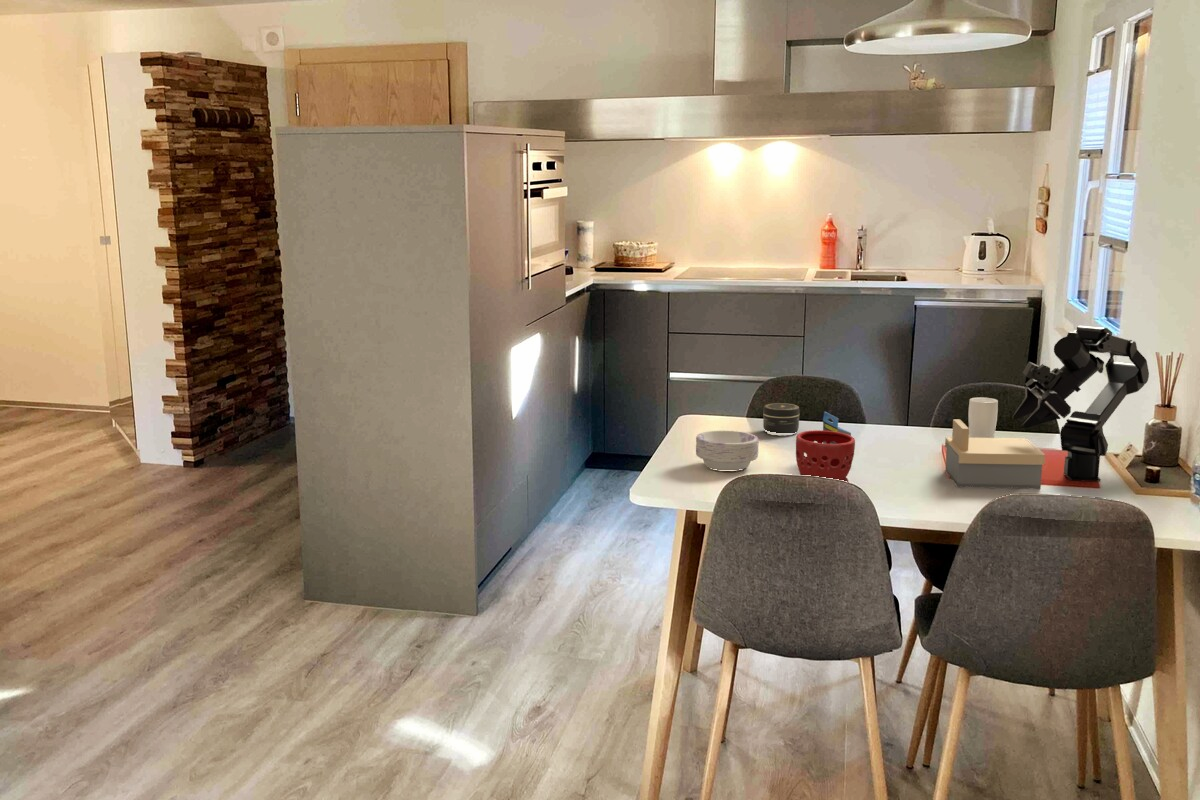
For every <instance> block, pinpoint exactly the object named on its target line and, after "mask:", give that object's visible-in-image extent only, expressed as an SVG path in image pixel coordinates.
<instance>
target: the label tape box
mask: <svg viewBox="0 0 1200 800" xmlns="http://www.w3.org/2000/svg"><path fill="white" fill-rule="evenodd" d="M839 419H840V418H838V417H837V416H835V415H832V414H830V413H829V412H827V411H823V419H822V426H823V427H822V431H834V432H840V433H844V434H847V435H850V436H852V433H851V432H850V431H848V430H846V429H844V428H841V427H839ZM830 420H831V421H830ZM823 443H824V444H827V443H826V442H825V441H824V442H823ZM830 444H837V443H836V442H831V443H830ZM845 460H846V457H845Z"/></svg>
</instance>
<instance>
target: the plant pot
mask: <svg viewBox="0 0 1200 800" xmlns="http://www.w3.org/2000/svg"><path fill="white" fill-rule="evenodd" d="M824 441H825V442H826V443H827V444H824V443H823V442H824ZM831 442H836V443H837V444H830V443H831ZM855 447H856V440H855V437H854V436H852V435H851V436H850V435H847V434H844V433H840V432H834V431H823V429H822V430H818V429H817V430H814V429H813V430H804V431H802V432H799V433H797V435H796V438H795V458H796V466H797V468H798V471H799V474H801V475H811V476H819V477H826V478H833V479H839V480H844V481H847V482H848V483H849V481H850V480H849V479H848V478H847V477H848V475H849V472H850V471H851V468H852V464H853V460H854V456H855ZM805 455H806V456H805ZM845 457H846V460H845Z"/></svg>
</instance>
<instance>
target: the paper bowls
mask: <svg viewBox="0 0 1200 800" xmlns="http://www.w3.org/2000/svg"><path fill="white" fill-rule="evenodd" d="M759 440H760V439H759V437H758V436H757V435H755V434H752V433H750V432H745V431H738V430H736V431H735V430H726V429H724V430H723V429H721V430H707V431H702V432H700V433H699V434H697V435H696V437H695V443H696V444H695V455H696V456H697V457H698V458H699V459H702V461H703V463H704V464H705V466H706V467H707V468H708V467H709V468H712V469H717V470H739V469H744V468H746V469H747V468H748V467H749V465H750V464H751V462H753V461H756V460H757V459H758V457H759V443H760V442H759ZM709 468H708V469H709ZM712 469H711V470H712ZM744 470H745V469H744Z"/></svg>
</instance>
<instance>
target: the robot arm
mask: <svg viewBox="0 0 1200 800" xmlns="http://www.w3.org/2000/svg"><path fill="white" fill-rule="evenodd" d="M1053 352H1054V355H1055V356H1056V358H1057V359H1058V360H1059V361H1060V362H1061V363H1062V365H1063V366H1061V367H1060V368H1059V367H1056V368H1053V369H1052V370H1051V368H1050V366H1047V365H1045V364H1040V365H1038V364H1036V363H1033V362H1031V361H1028V362H1027V365H1026V366H1025V368H1024V370H1023V371H1022V375H1024V376H1025V377H1026V378H1028V379H1029V380H1028V381H1027V382H1026V383H1025V386H1024V395H1025V396H1024V397H1023V399H1022V401H1021V402H1020V405H1019V406H1018V408H1017V409H1016V410H1015V412H1014V414H1013V415H1012V418H1013V419H1014V420H1016V421H1017V420H1019V419H1022V418H1023V417H1027V416H1028V415H1029V416H1028V417H1027V419H1026V420H1025V421H1024V422H1023V423H1022V426H1021V427H1023V428H1024V429H1025V430H1026V429H1029V428H1030V429H1031V428H1032V427H1036V426H1038V425H1042V424H1045V423H1047V422H1052V421H1055V420H1061V417H1062V418H1063V419H1065V418H1066V417H1067V416H1069V415H1070V416H1069V417H1068V418H1067V419H1066V422H1065V423H1064V425H1062V427H1061V429H1060V432H1059V433H1060V434H1059V436H1060V447H1061V451H1063V452H1065V451H1066V452H1067V456H1064V464H1063V465H1064V467H1063V474H1065V475H1064V476H1066V477H1067V478H1068V479H1069V480H1071V481H1073V482H1077V481H1078V482H1101V481H1102V479H1101V478H1100V477H1099V474H1100V473H1099V471H1100V460H1101V457H1105V456H1106V455H1107V451H1108V448H1109V444H1108V441H1107V439H1106V436H1105V433H1104V428H1103V427H1104V425H1105V424H1106V423H1107V421H1108V420H1109V419H1110V417H1111V416H1112V415H1113V414H1114V412H1115V411H1116V409H1117V408H1118V407H1119V405H1120V404H1121V403H1122V401H1123V400H1124V399H1125V398H1126V396H1127V395H1131V394H1135V393H1137V392H1139V391H1141V389H1142V388H1143V387H1144V386H1145V385H1146V384H1147V383H1148V381H1149V377H1150V371H1149V365H1148V361H1147V359H1146V357H1145V356H1143V354H1142V353H1141V352H1140V351H1139V350H1138V347H1137V342H1136V341H1135V340H1132V339H1125V338H1122V337H1118V336H1115V335H1113V332H1112V331H1111V330H1110V329H1109V328H1108V327H1103V326H1088V325H1078V326H1077V327H1076V330H1074V331H1068V332H1067V336H1064V337H1061V338H1060V339H1058V341H1057V342H1056V343H1055V344H1054V347H1053ZM1093 353H1099V354H1106V353H1107V354H1109V356H1110V357H1109V359H1108V360H1107V362H1106V363H1105V361H1104V360H1102V358H1101V357H1099V356H1097V357H1096V356H1095V355H1094V354H1093ZM1114 356H1118V357H1128V358H1129V360H1130V362H1123V361H1115V360H1114ZM1104 364H1105V370H1106V371H1105V372H1106V376H1107V384H1106V385H1105V386H1104V388H1103V389H1102V390H1101V391H1100V392H1099V393H1098V395H1097V396H1096V397H1095V399H1094V400H1093V401H1092V403H1091V404H1090V405H1089V407H1088V408H1087V409H1086V410H1085V411H1078V410H1074V411H1073V412H1072V411H1071V410H1072V406H1070V404H1069V403H1068V402H1067V401H1066V399H1068V398H1069V397H1070V396H1071V395H1072V394H1073V393H1074V392H1076V393H1078V392H1080V391H1081V390H1082V389H1081V388H1080V387H1081V386H1083V384H1085V383H1086V382H1087V381H1088V380H1090V378H1091V377H1092V376H1093V375H1094V374H1096V373H1099V374H1102V373H1103V372H1104ZM1071 412H1072V413H1071Z"/></svg>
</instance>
